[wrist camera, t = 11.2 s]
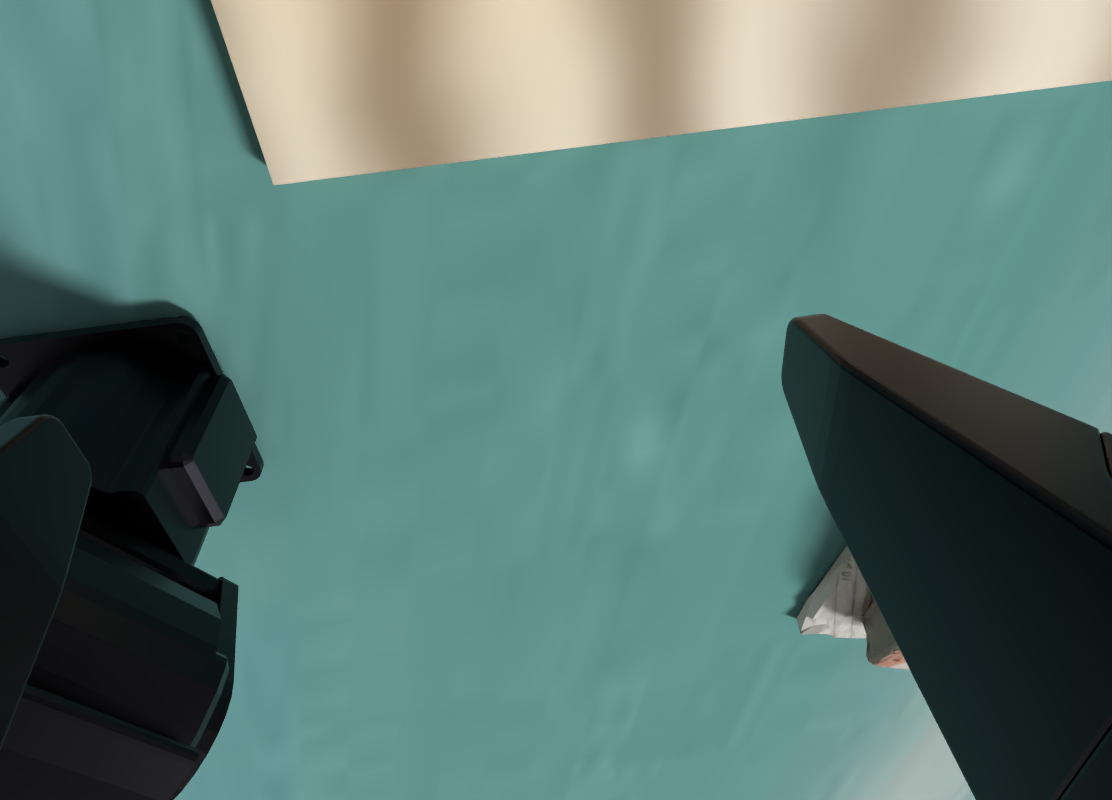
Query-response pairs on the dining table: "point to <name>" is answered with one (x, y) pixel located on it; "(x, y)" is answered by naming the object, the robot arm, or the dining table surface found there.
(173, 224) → the dining table surface
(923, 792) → the dining table surface
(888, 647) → the packaged product
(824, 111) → the board
